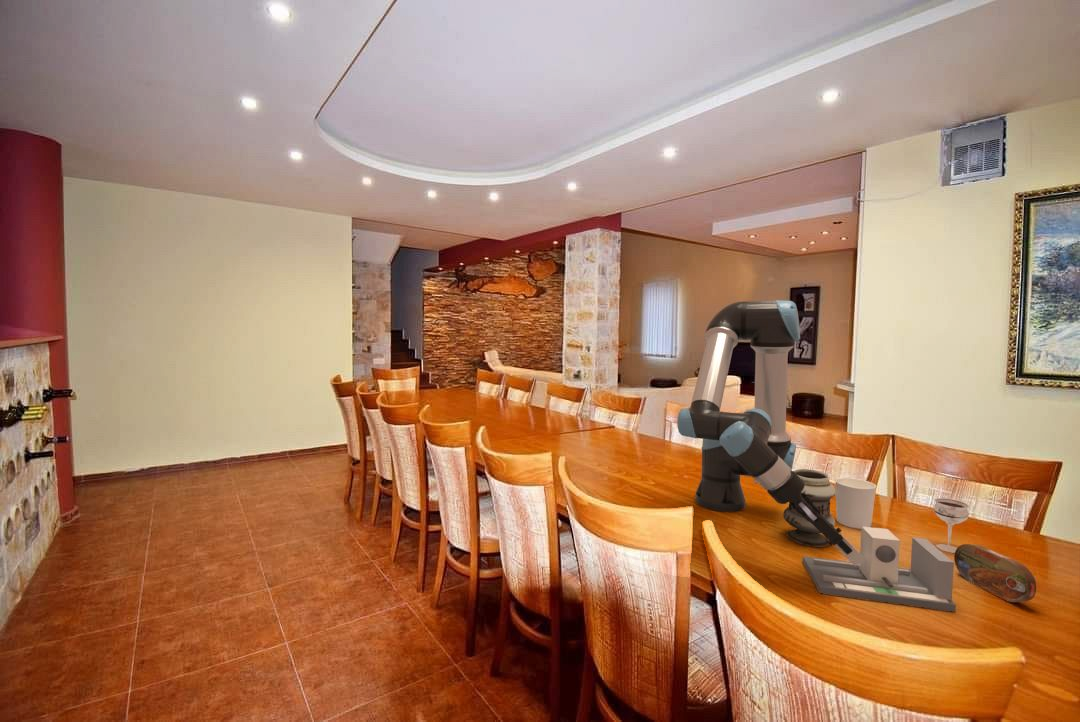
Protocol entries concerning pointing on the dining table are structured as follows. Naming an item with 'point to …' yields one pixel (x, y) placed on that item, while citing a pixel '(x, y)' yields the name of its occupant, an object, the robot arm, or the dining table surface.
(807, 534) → the apothecary jar
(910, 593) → the gauge bed
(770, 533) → the dining table surface
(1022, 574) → the tin
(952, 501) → the wineglass
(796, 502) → the robot arm
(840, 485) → the candle holder
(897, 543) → the gauge carriage
